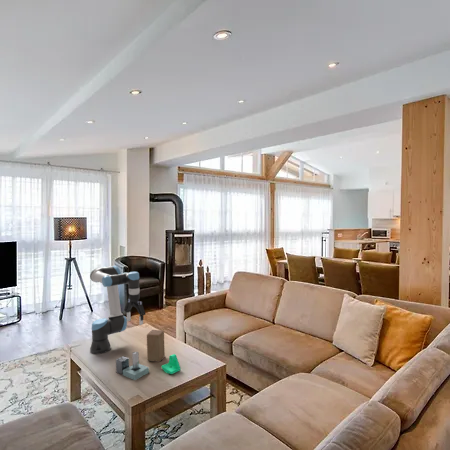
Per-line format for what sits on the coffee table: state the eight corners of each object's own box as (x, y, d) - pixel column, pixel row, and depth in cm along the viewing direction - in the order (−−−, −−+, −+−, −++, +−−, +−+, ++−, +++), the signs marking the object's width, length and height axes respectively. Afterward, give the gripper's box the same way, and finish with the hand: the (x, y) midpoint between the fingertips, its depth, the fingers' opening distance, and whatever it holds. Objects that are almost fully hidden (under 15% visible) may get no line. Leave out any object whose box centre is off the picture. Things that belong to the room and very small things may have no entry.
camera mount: (160, 369, 223) (160, 355, 222) (170, 365, 228) (169, 351, 228) (171, 375, 214) (170, 360, 214) (180, 371, 220) (180, 356, 219)
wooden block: (159, 362, 233) (159, 335, 232) (146, 361, 235) (146, 334, 234) (165, 356, 243) (164, 330, 242) (152, 355, 245) (152, 329, 244)
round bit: (131, 373, 217) (131, 353, 216) (136, 371, 220) (135, 351, 220) (135, 375, 215) (135, 354, 214) (140, 373, 218) (139, 352, 217)
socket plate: (122, 375, 216) (122, 370, 216) (137, 367, 226) (136, 362, 225) (134, 380, 209) (134, 375, 209) (148, 372, 219) (148, 367, 219)
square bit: (116, 372, 220) (115, 359, 219) (123, 368, 225) (123, 356, 224) (122, 374, 216) (121, 361, 216) (129, 371, 221) (128, 358, 221)
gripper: (118, 292, 237) (119, 321, 238) (141, 297, 222) (142, 327, 223) (127, 290, 243) (128, 318, 244) (150, 294, 228) (150, 324, 230)
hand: (135, 322), depth 234 cm, fingers open, 13 cm apart
